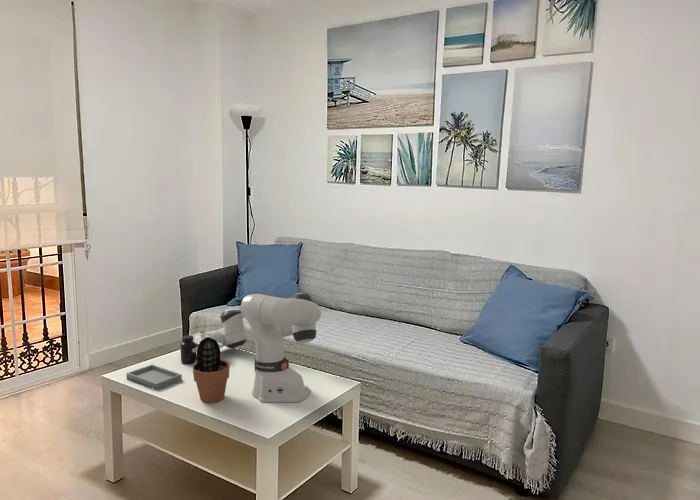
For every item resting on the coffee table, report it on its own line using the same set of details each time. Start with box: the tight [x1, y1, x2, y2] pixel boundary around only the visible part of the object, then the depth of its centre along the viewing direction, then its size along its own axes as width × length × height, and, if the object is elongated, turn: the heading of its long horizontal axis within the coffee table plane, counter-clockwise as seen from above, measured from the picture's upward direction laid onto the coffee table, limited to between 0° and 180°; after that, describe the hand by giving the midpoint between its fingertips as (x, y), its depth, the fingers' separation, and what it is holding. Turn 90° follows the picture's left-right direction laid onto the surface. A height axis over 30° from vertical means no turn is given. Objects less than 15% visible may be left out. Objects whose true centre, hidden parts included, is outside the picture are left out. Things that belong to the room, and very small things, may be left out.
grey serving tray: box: [126, 364, 183, 391], centre depth 225 cm, size 20×12×2 cm, turn 55°
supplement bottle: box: [179, 334, 197, 365], centre depth 245 cm, size 7×7×12 cm
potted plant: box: [192, 337, 230, 404], centre depth 205 cm, size 14×14×25 cm
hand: (186, 348), depth 244 cm, fingers closed on supplement bottle, 6 cm apart
